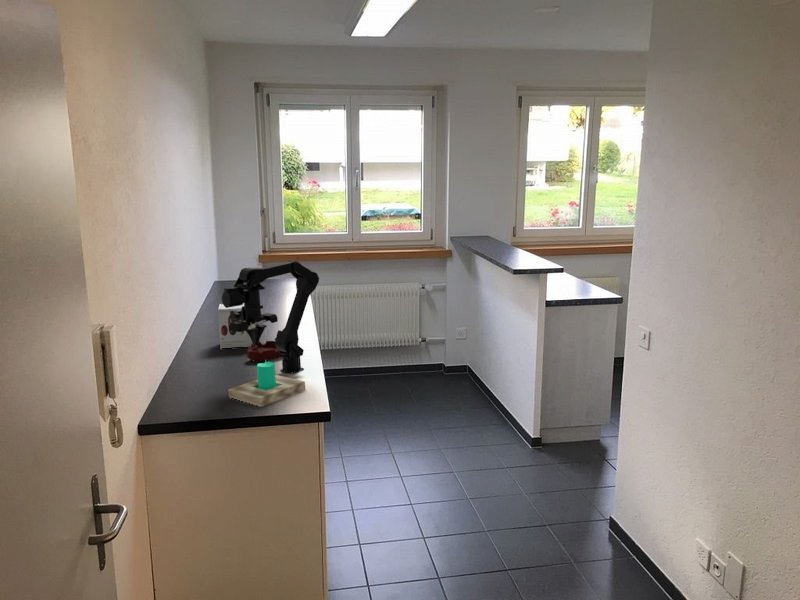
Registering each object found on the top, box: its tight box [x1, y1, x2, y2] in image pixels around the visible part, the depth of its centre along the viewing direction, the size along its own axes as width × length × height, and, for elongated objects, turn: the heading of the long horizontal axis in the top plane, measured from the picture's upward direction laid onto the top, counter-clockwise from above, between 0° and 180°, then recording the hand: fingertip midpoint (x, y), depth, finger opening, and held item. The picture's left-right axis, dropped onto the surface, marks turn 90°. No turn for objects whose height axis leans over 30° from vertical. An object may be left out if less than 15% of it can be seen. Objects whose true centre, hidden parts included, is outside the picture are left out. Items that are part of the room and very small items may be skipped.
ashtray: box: [246, 340, 284, 362], centre depth 268 cm, size 18×16×5 cm
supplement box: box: [217, 303, 262, 350], centre depth 287 cm, size 17×13×18 cm
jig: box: [227, 374, 306, 408], centre depth 221 cm, size 20×16×3 cm
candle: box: [256, 360, 276, 390], centre depth 220 cm, size 6×6×12 cm
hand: (255, 345), depth 235 cm, fingers closed
